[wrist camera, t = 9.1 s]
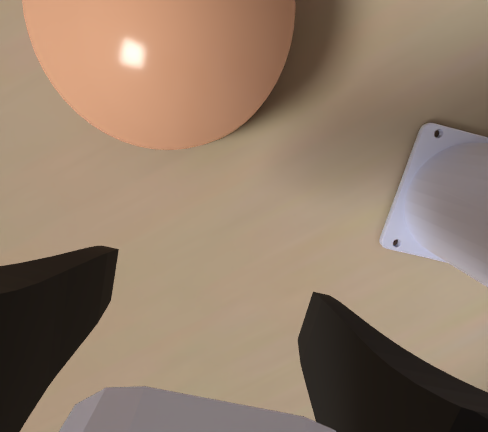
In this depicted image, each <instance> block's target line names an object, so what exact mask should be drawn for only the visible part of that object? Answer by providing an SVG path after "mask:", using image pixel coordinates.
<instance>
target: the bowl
mask: <svg viewBox="0 0 488 432" xmlns="http://www.w3.org/2000/svg"><path fill="white" fill-rule="evenodd" d="M22 2H23V11H24V17H25V21H26V26H27V30H28V34H29V37H30V40H31V43H32V45H33V48H34V51H35V54H36V56H37V58H38V60H39V62H40V64H41V66H42V68H43V70H44V72H45V73H46V75H47V77H48V78H49V80H50V81H51V83H52V85H53V86H54V88H55V89H56V90H57V91H58V93H59V94H60V95H61V96H62V98H63V99H64V100H65V101H66V102H67V103H68V104H69V105H70V106H71V107H72V108H73V109H74V110H75V111H76V112H77V113H78V114H79V115H80V116H81V117H83V118H84V119H85V120H86V121H88V122H89V123H90V124H92V125H93V126H95V127H96V128H98V129H99V130H101V131H103V132H104V133H106V134H108V135H110V136H112V137H114V138H116V139H119V140H121V141H123V142H126V143H130V144H133V145H136V146H140V147H145V148H151V149H163V150H175V149H185V148H191V147H195V146H199V145H203V144H207V143H210V142H213V141H216V140H218V139H221V138H223V137H225V136H227V135H229V134H230V133H232V132H234V131H235V130H237V129H238V128H239V127H241V126H242V125H243V124H245V123H246V122H247V121H248V120H249V119H250V118H251V117H252V116H253V115H254V114H255V113H256V111H257V110H258V109H259V108H260V107H261V105H262V104H263V103H264V101H265V100H266V99H267V97H268V96H269V94H270V92H271V91H272V89H273V87H274V86H275V84H276V83H277V81H278V79H279V76H280V74H281V72H282V70H283V68H284V65H285V63H286V59H287V56H288V53H289V50H290V47H291V41H292V36H293V31H294V22H295V0H22Z"/></svg>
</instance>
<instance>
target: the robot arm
mask: <svg viewBox="0 0 488 432" xmlns="http://www.w3.org/2000/svg"><path fill="white" fill-rule="evenodd" d="M436 130H438V131H439V135H438V137H435V136H434V132H435V131H436ZM396 239H398V243H397V244H396V245H393V242H394V240H396ZM380 244H381V245H382V246H383V247H384V248H387V249H391V250H395V251H399V252H404V253H408V254H412V255H417V256H421V257H425V258H430V259H434V260H438V261H443V262H447V263H449V264H451V265H452V266H454V267H456V268H457V269H459V270H460V271H462V272H464V273H465V274H467V275H469V276H470V277H472V278H473V279H475V280H477V281H478V282H480V283H481V284H483V285H485V286H486V287H488V137H485V136H481V135H477V134H473V133H470V132H466V131H462V130H458V129H454V128H451V127H447V126H443V125H439V124H435V123H426V124H424V125H423V126H421V128H420V130H419V132H418V135H417V138H416V141H415V143H414V146H413V149H412V152H411V154H410V157H409V160H408V163H407V165H406V168H405V171H404V174H403V176H402V179H401V182H400V184H399V187H398V190H397V193H396V195H395V198H394V201H393V204H392V206H391V209H390V212H389V215H388V217H387V220H386V223H385V226H384V228H383V231H382V234H381V236H380ZM118 250H119V249H114V248H110V247H105V246H94V247H89V248H85V249H80V250H76V251H72V252H68V253H64V254H60V255H56V256H52V257H47V258H42V259H38V260H33V261H28V262H23V263H18V264H12V265H5V266H0V432H20V430H21V428H22V427H23V425H24V423H25V422H26V420H27V419H28V417H29V415H30V414H31V412H32V411H33V409H34V408H35V406H36V405H37V403H38V401H39V400H40V398H41V397H42V395H43V394H44V392H45V391H46V389H47V388H48V386H49V385H50V383H51V382H52V381H53V379H54V378H55V377H56V375H57V374H58V373H59V371H60V370H61V369H62V368H63V366H64V365H65V364H66V363H67V361H68V360H69V359H70V358H71V356H72V355H73V354H74V353H75V351H76V350H77V349H78V348H79V346H80V345H81V344H82V343H83V341H84V340H85V339H86V337H87V336H88V335H89V334H90V332H91V331H92V330H93V328H94V327H95V326H96V325H97V323H98V322H99V320H100V318H101V317H102V315H103V313H104V312H105V310H106V308H107V306H108V304H109V303H110V301H111V296H112V289H113V283H114V276H115V270H116V263H117V257H118ZM298 346H299V355H300V362H301V367H302V371H303V375H304V379H305V383H306V386H307V390H308V394H309V397H310V401H311V405H312V408H313V412H314V416H315V419H316V422H315V421H313V420H311V419H308V418H306V417H304V416H299V415H293V414H288V413H283V412H278V411H272V410H267V409H262V408H256V407H251V406H246V405H241V404H235V403H230V402H225V401H220V400H214V399H209V398H204V397H199V396H193V395H188V394H183V393H177V392H172V391H167V390H162V389H156V388H151V387H146V386H142V387H107V388H104V389H103V390H101V391H99V392H97V393H95V394H94V395H92V396H90V397H88V398H86V399H84V400H83V401H81V402H79V403H77V404H75V406H74V408H73V409H72V411H71V412H70V414H69V416H68V417H67V419H66V421H65V422H64V424H63V426H62V427H61V429H60V430H59V432H488V393H487V392H485V391H483V390H481V389H478V388H476V387H474V386H472V385H470V384H468V383H465V382H463V381H461V380H459V379H457V378H455V377H453V376H451V375H449V374H447V373H445V372H444V371H442V370H440V369H438V368H436V367H434V366H432V365H430V364H429V363H427V362H425V361H423V360H422V359H420V358H418V357H417V356H415V355H413V354H412V353H410V352H408V351H407V350H405V349H403V348H402V347H400V346H399V345H397V344H396V343H394V342H393V341H391V340H390V339H389V338H387V337H386V336H384V335H383V334H381V333H380V332H379V331H377V330H376V329H375V328H373V327H372V326H371V325H369V324H368V323H367V322H365V321H364V320H363V319H361V318H360V317H359V316H357V315H356V314H355V313H354V312H352V311H351V310H350V309H348V308H347V307H346V306H345V305H343V304H342V303H340V302H339V301H338V300H336V299H335V298H333V297H331V296H329V295H325V294H321V293H316V292H313V294H312V297H311V300H310V303H309V306H308V309H307V312H306V315H305V319H304V322H303V325H302V328H301V331H300V334H299V337H298Z"/></svg>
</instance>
